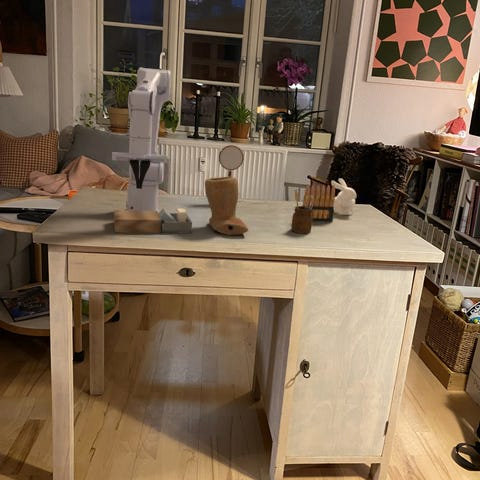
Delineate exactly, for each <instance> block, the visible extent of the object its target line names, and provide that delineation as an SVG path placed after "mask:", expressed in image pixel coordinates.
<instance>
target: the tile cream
mask: <svg viewBox="0 0 480 480" xmlns="http://www.w3.org/2000/svg"><path fill="white" fill-rule="evenodd" d="M176 213H177V222H186V214H187V215H188V213H187V211H186V209H185V208H183V207H182V208H179V207H178V208H176Z"/></svg>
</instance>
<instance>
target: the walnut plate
mask: <svg viewBox="0 0 480 480" xmlns="http://www.w3.org/2000/svg"><path fill="white" fill-rule="evenodd" d="M113 212H114V213H113V217H114V218H113V224H114V225H113V227H114V233H138V234H139V233H140V234H141V233H142V234H143V233H145V234H146V233H149V234H150V233H152V234H161V233H162V232H161V218H160V216H159V213H158V211H136V210H127V209H126V210H125V209H114V211H113Z"/></svg>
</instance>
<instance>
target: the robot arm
mask: <svg viewBox="0 0 480 480" xmlns="http://www.w3.org/2000/svg"><path fill="white" fill-rule="evenodd" d="M171 87H172V72H171V70H170V69H155V68H147V67H146V68H145V67H139V68H138V69H137V73H136V86H135V89H132V91H129V92H128V97H127V108H128V119H129V142H128V143H129V146H128V147H129V151H128V152H115V151H112V152H111V160H112V161H124V162H125V161H126V162H129V168H128V176H129V177H128V178H129V180H130V181H131V183H129V182H128V183H127V187H126V191H127V192H126V202H125V208H126V210H136V211H158V213H159V212H160V210H159V208H158V206H159V205H158V204H159V185H160V184H162V183H163V182H164V177H165V176H164V175H165V164H168V155H165V154H159V152H157V150H158V149H157V148H158V147H157V146H158V138H159V128H160V120H161V111H162V108H163V105H164V104H165V103H166V102H169V99H170V95H171Z"/></svg>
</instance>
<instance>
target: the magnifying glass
mask: <svg viewBox="0 0 480 480" xmlns="http://www.w3.org/2000/svg"><path fill="white" fill-rule="evenodd" d="M244 158H245V157H244V153H243V151H242V149H241V148H240V147H239V146H236V145H233V144H231V145H229V144H228V145H226V146H223V148H222V149H221V150H220V151H219V154H218V161H219V164H220V165H221V167H222V168H223V169H225V170H228V172H227V177H232V173H233V172H232V171H235V170H238V168H240V167H241V166H242V164H243V162H244Z"/></svg>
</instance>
